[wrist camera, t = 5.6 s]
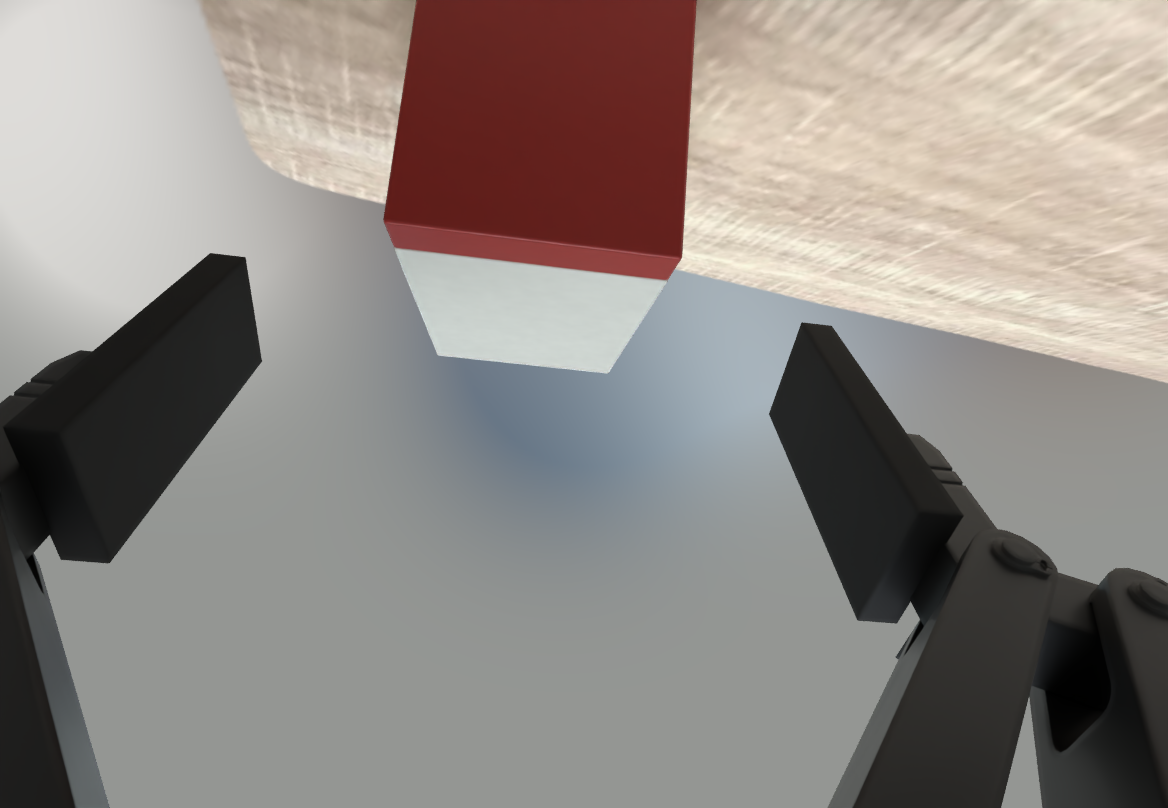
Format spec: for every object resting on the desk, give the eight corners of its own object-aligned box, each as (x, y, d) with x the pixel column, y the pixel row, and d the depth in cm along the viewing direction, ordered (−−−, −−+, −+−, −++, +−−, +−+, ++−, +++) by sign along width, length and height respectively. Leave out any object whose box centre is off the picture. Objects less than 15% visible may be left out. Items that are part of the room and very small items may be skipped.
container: (622, 196, 29) (608, 373, 27) (460, 174, 28) (437, 355, 27) (698, -29, 17) (683, 258, 16) (426, -74, 17) (382, 221, 15)
